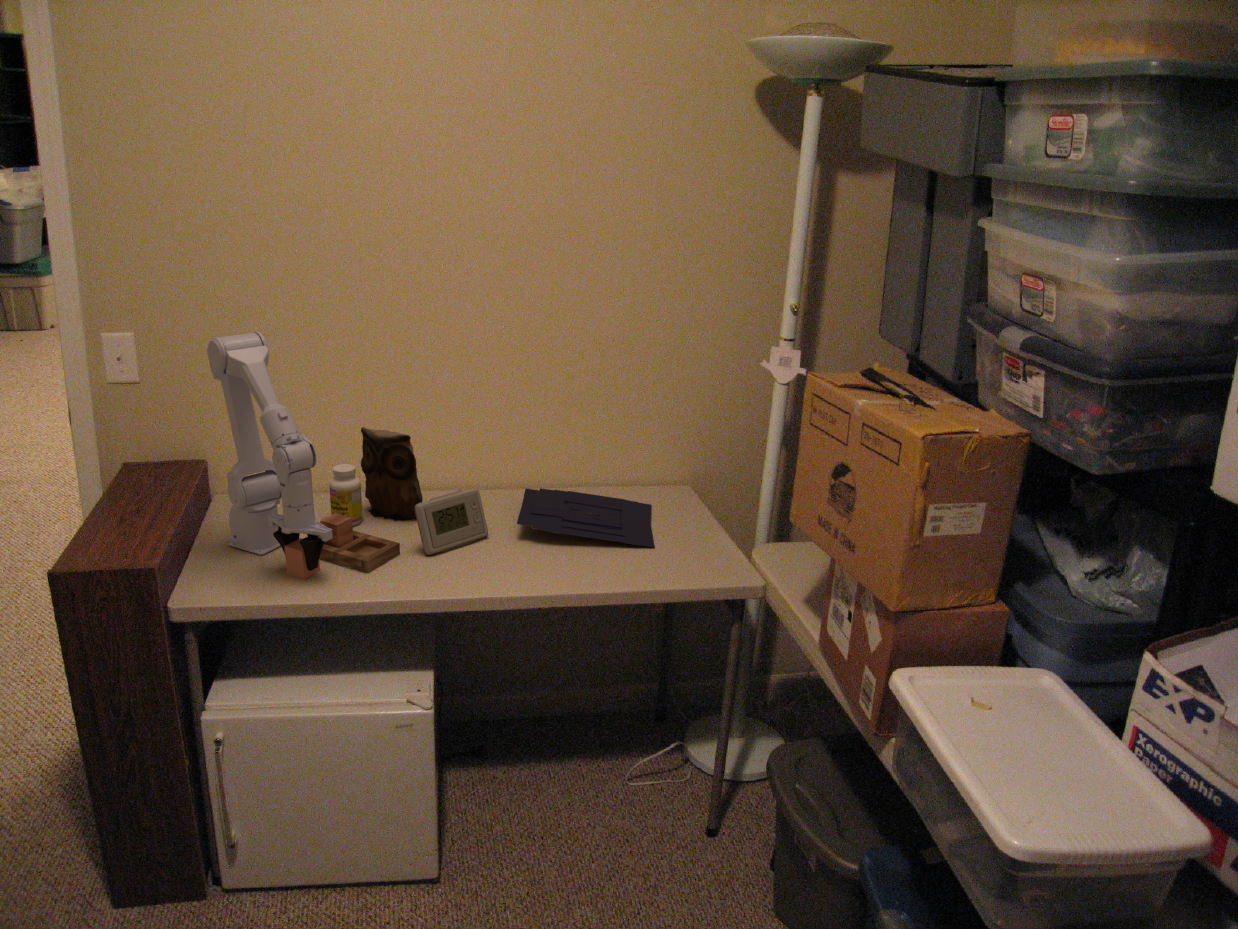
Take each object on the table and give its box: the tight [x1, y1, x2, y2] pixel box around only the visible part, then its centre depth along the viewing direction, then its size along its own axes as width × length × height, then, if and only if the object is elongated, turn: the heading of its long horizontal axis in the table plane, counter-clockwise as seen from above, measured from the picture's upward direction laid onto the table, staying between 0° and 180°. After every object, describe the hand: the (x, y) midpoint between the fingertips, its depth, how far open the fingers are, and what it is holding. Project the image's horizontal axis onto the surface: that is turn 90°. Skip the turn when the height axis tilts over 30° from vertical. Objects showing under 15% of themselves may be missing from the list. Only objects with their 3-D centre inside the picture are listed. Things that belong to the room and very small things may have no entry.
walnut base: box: [319, 513, 401, 574], centre depth 196 cm, size 16×10×7 cm, turn 64°
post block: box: [284, 537, 321, 580], centre depth 188 cm, size 4×4×6 cm
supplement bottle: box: [328, 463, 363, 527], centre depth 210 cm, size 7×7×13 cm
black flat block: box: [516, 487, 655, 548], centre depth 216 cm, size 24×30×4 cm
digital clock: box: [415, 487, 489, 556], centre depth 203 cm, size 16×9×11 cm, turn 123°
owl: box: [360, 426, 424, 522], centre depth 214 cm, size 13×13×20 cm
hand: (303, 565), depth 189 cm, fingers closed on post block, 4 cm apart
